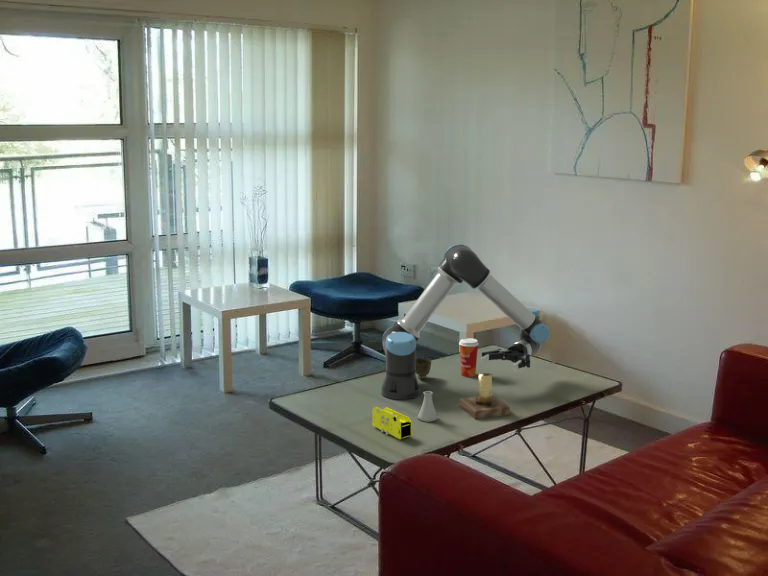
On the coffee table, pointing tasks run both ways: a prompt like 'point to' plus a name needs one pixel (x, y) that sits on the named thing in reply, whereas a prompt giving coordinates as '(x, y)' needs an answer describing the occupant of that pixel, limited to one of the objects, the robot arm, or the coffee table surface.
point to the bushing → (484, 389)
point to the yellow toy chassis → (392, 422)
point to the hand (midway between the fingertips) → (497, 364)
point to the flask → (427, 408)
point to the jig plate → (484, 408)
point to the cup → (422, 367)
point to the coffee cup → (468, 356)
